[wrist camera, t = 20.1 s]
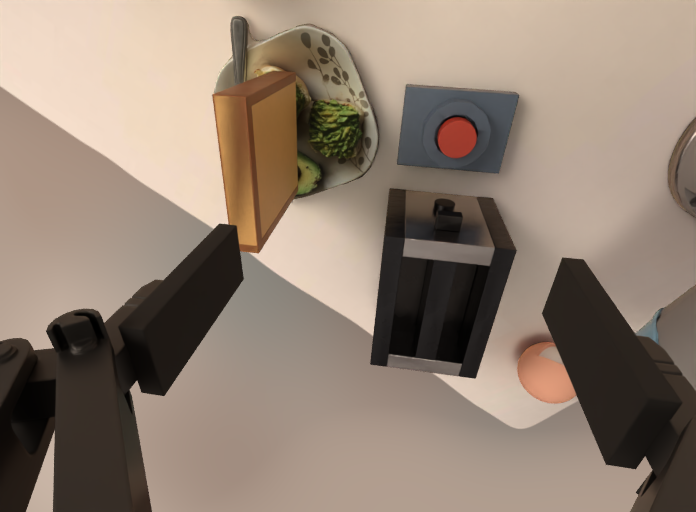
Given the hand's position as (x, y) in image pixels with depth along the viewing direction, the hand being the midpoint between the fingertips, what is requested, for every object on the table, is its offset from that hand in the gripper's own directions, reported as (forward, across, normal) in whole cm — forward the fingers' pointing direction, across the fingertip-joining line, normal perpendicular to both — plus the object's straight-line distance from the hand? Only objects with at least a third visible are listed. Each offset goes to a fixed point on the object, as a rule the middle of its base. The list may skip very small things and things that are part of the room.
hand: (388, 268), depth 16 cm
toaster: (+31, -5, +17) cm, 35 cm away
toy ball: (+31, -22, +31) cm, 50 cm away
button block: (+31, -5, +1) cm, 31 cm away
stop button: (+28, -5, +1) cm, 28 cm away
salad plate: (+30, +12, +2) cm, 33 cm away
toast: (+26, +12, +2) cm, 28 cm away
